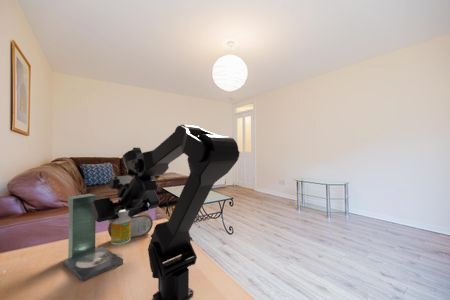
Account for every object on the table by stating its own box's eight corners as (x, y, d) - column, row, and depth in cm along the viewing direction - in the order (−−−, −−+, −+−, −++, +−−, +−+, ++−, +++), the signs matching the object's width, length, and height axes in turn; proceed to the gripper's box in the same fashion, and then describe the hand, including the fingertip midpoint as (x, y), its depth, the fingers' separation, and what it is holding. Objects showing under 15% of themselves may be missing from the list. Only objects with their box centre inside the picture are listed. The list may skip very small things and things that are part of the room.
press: (123, 263, 57) (123, 200, 57) (82, 282, 48) (83, 208, 49) (88, 241, 70) (88, 190, 70) (51, 252, 62) (52, 195, 62)
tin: (151, 231, 79) (151, 210, 79) (153, 234, 77) (153, 212, 77) (107, 240, 71) (108, 217, 71) (108, 244, 68) (108, 219, 68)
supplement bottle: (122, 246, 59) (122, 213, 59) (106, 244, 60) (107, 212, 60) (134, 238, 64) (134, 208, 65) (119, 237, 66) (120, 207, 66)
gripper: (154, 165, 68) (136, 194, 74) (93, 169, 53) (77, 204, 59) (169, 191, 63) (149, 219, 70) (107, 203, 48) (88, 238, 54)
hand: (118, 219), depth 63 cm, fingers closed on supplement bottle, 5 cm apart
